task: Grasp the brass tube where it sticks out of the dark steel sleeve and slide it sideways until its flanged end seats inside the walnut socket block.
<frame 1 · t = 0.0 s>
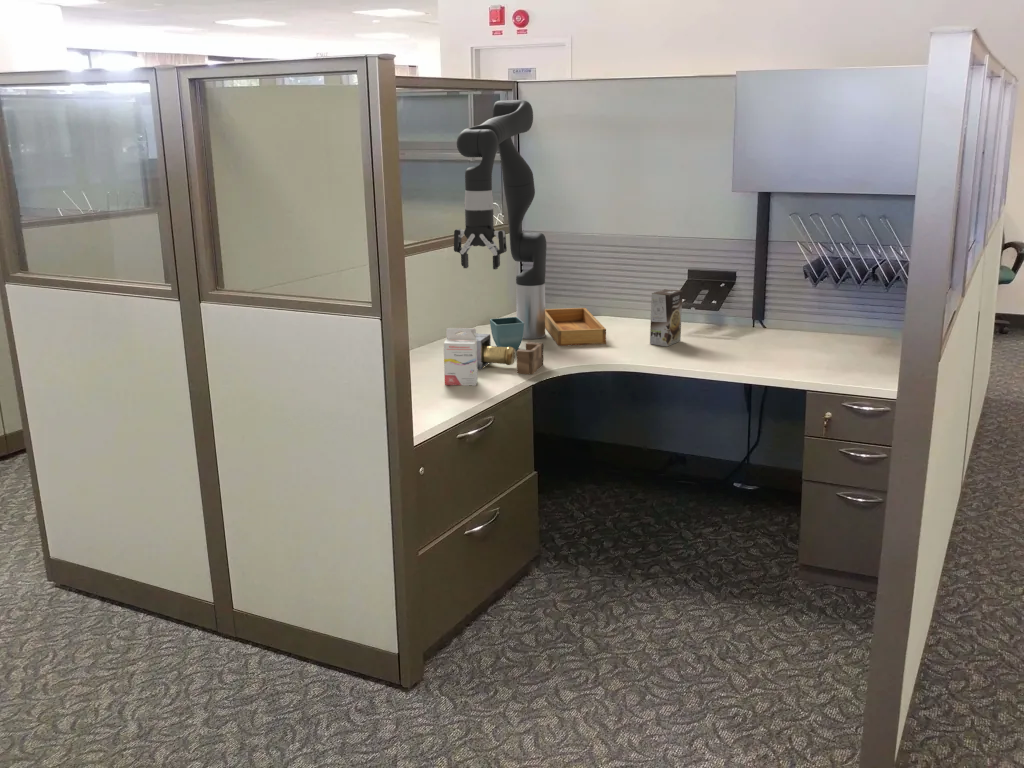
hand: (480, 268, 247), 29 cm above the table, tool pointing down, fingers open, 8 cm apart
socket: (530, 369, 258), on the table
ink cartridge box: (461, 383, 246), on the table
sleeve: (473, 364, 263), on the table
tray: (572, 335, 299), on the table
tube: (485, 354, 261), point 4 cm above the table, slide at 0.0 cm
coffee box: (665, 343, 285), on the table
flower pot: (507, 349, 280), on the table
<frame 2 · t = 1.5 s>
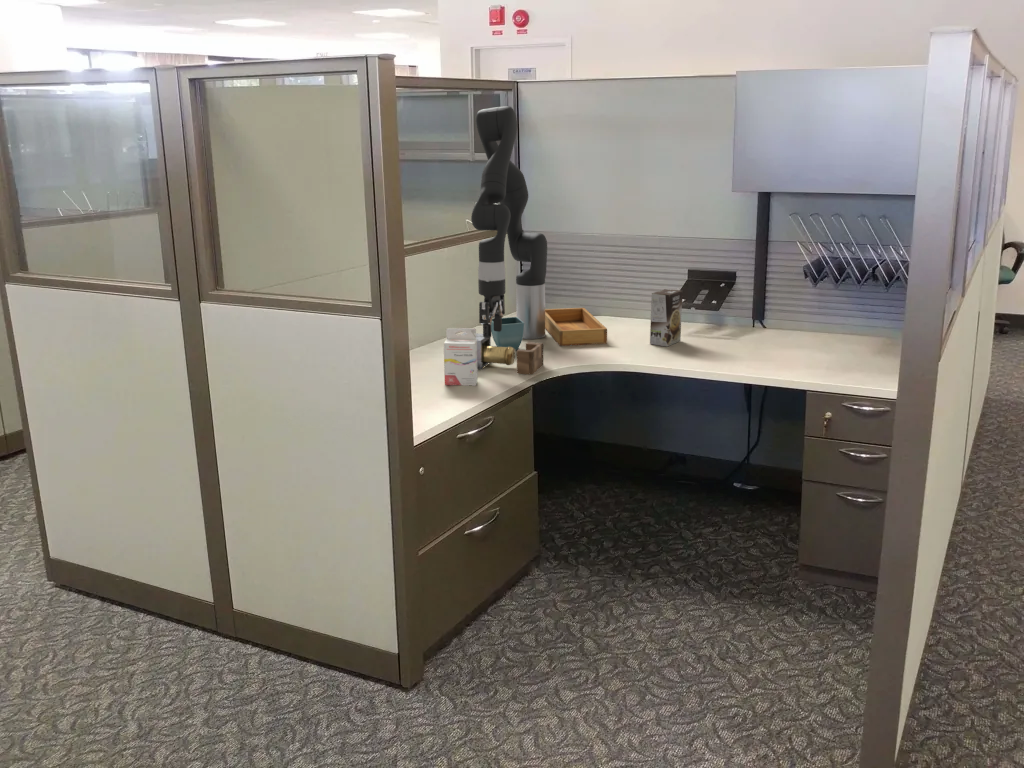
hand: (492, 334, 258), 9 cm above the table, tool pointing down, fingers open, 8 cm apart
nothing on the table moved.
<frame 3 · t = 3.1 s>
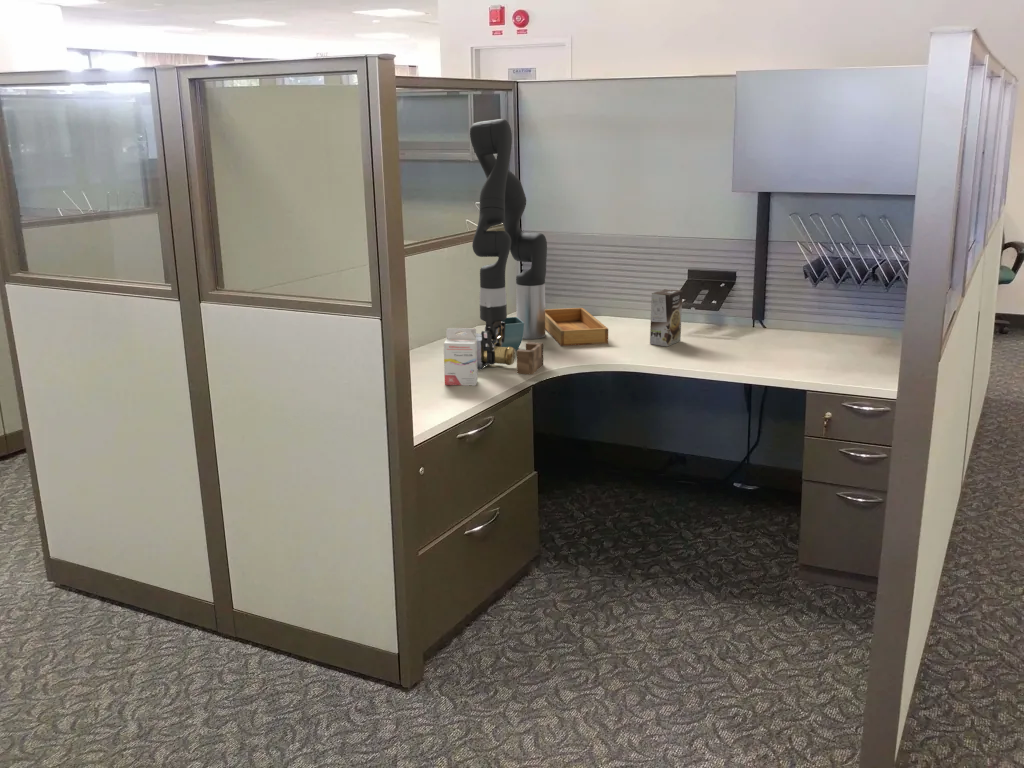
hand: (494, 361, 260), 2 cm above the table, tool pointing down, fingers closed on tube, 4 cm apart
tube: (485, 354, 261), point 4 cm above the table, slide at 0.0 cm, touching gripper
everything else where it was.
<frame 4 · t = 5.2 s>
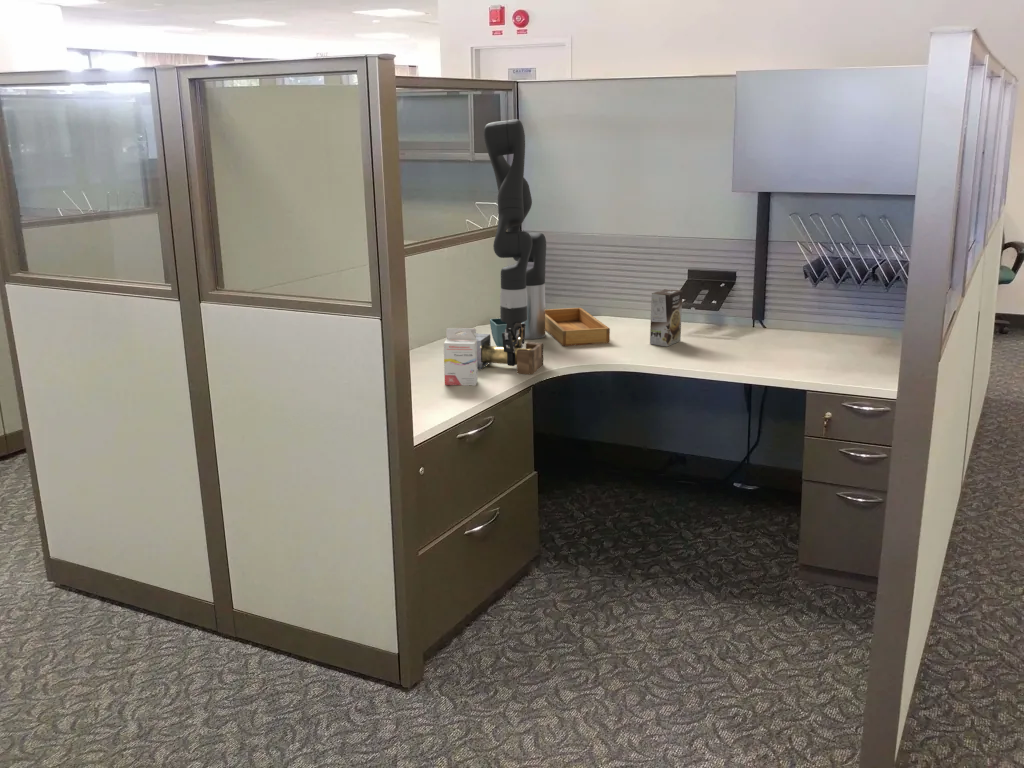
hand: (514, 362, 259), 2 cm above the table, tool pointing down, fingers closed on tube, 4 cm apart
tube: (506, 355, 259), point 4 cm above the table, slide at 6.1 cm, touching gripper
everything else where it was.
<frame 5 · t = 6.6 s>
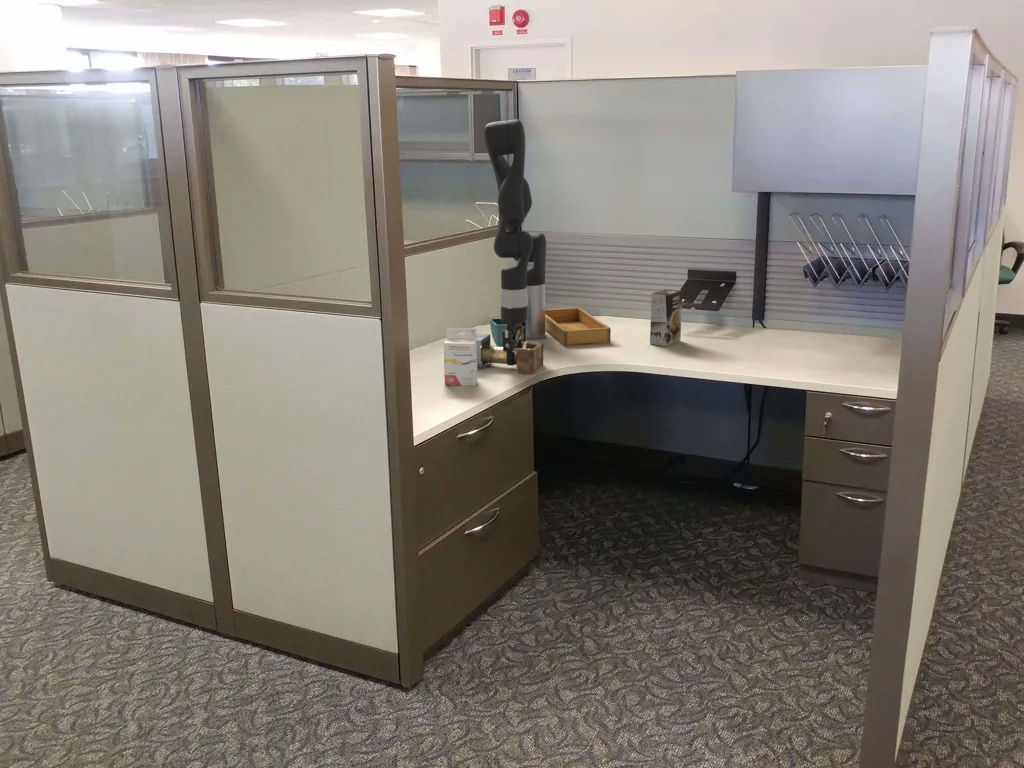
hand: (514, 361, 258), 2 cm above the table, tool pointing down, fingers open, 6 cm apart
tube: (506, 355, 259), point 4 cm above the table, slide at 6.1 cm
everything else where it was.
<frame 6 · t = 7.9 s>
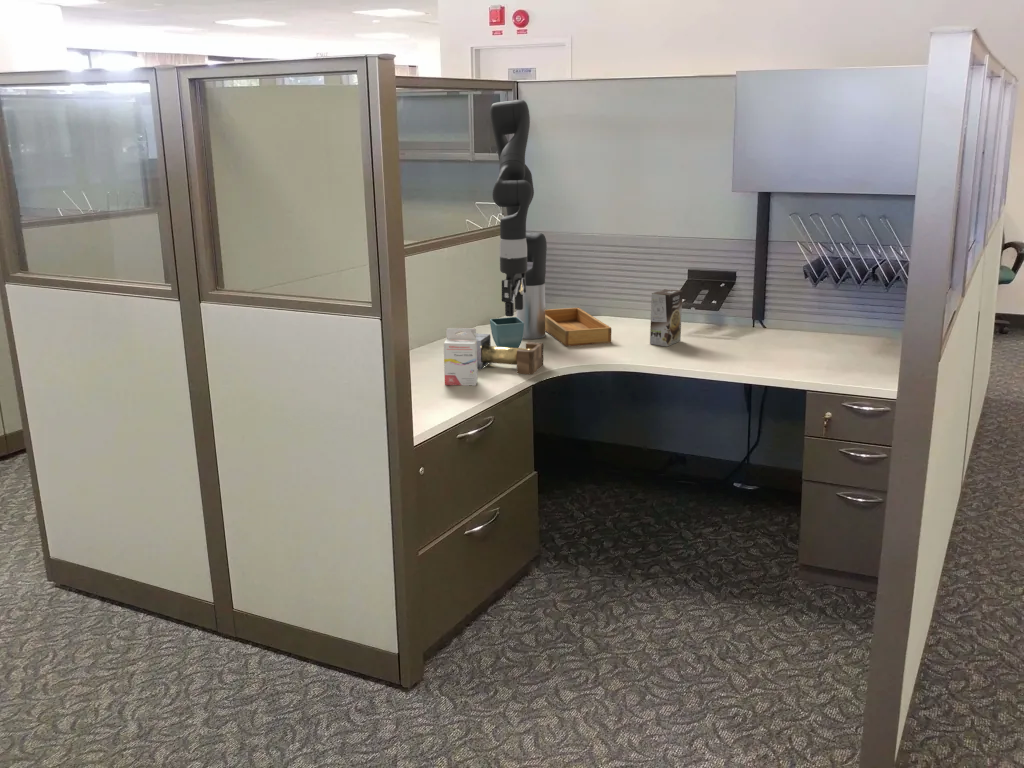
hand: (514, 312, 255), 16 cm above the table, tool pointing down, fingers open, 8 cm apart
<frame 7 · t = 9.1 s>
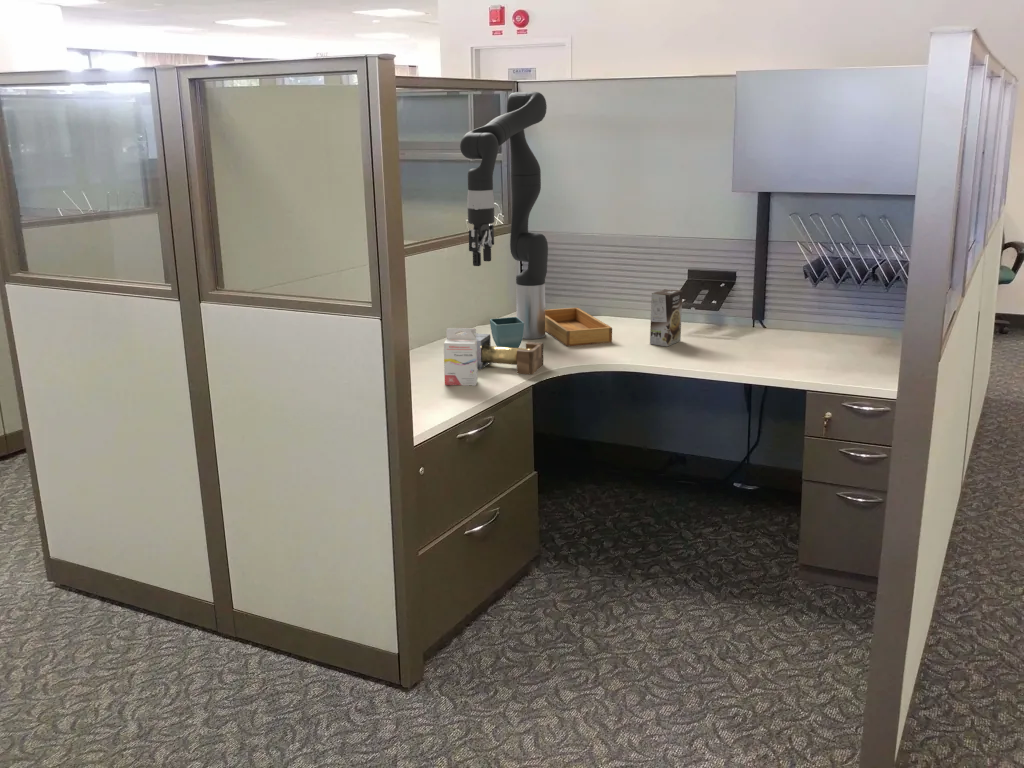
hand: (482, 263, 262), 28 cm above the table, tool pointing down, fingers open, 8 cm apart
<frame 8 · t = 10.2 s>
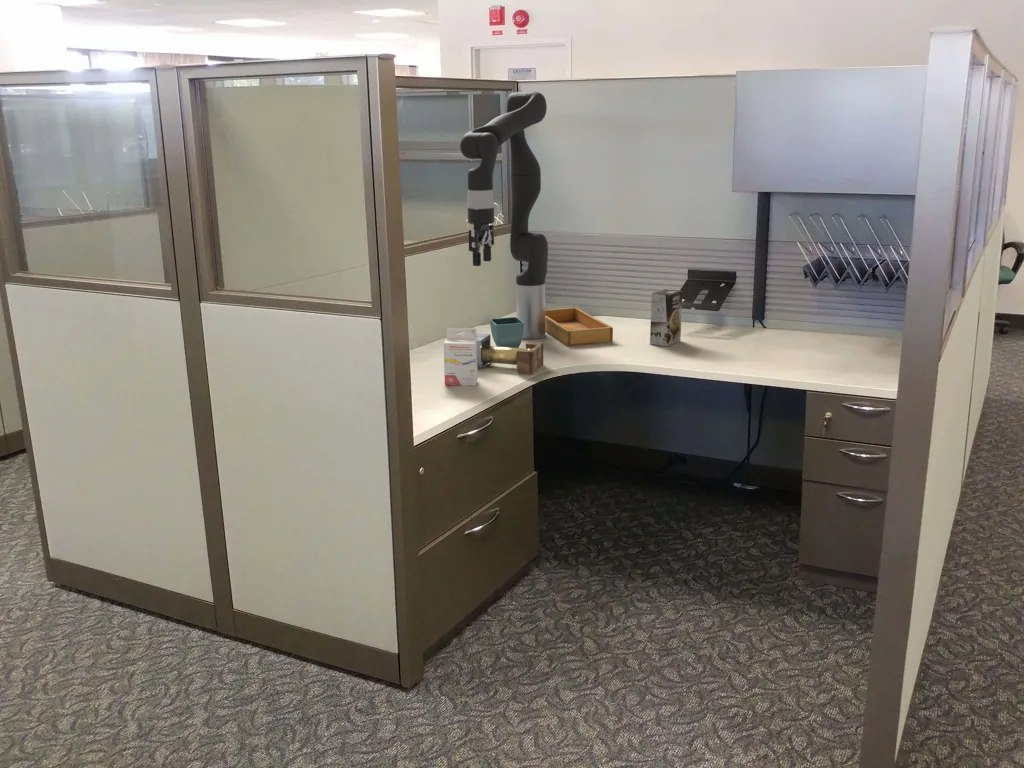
hand: (482, 263, 262), 28 cm above the table, tool pointing down, fingers open, 8 cm apart
at the end: tube slide at 6.1 cm; the gripper is holding nothing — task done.
